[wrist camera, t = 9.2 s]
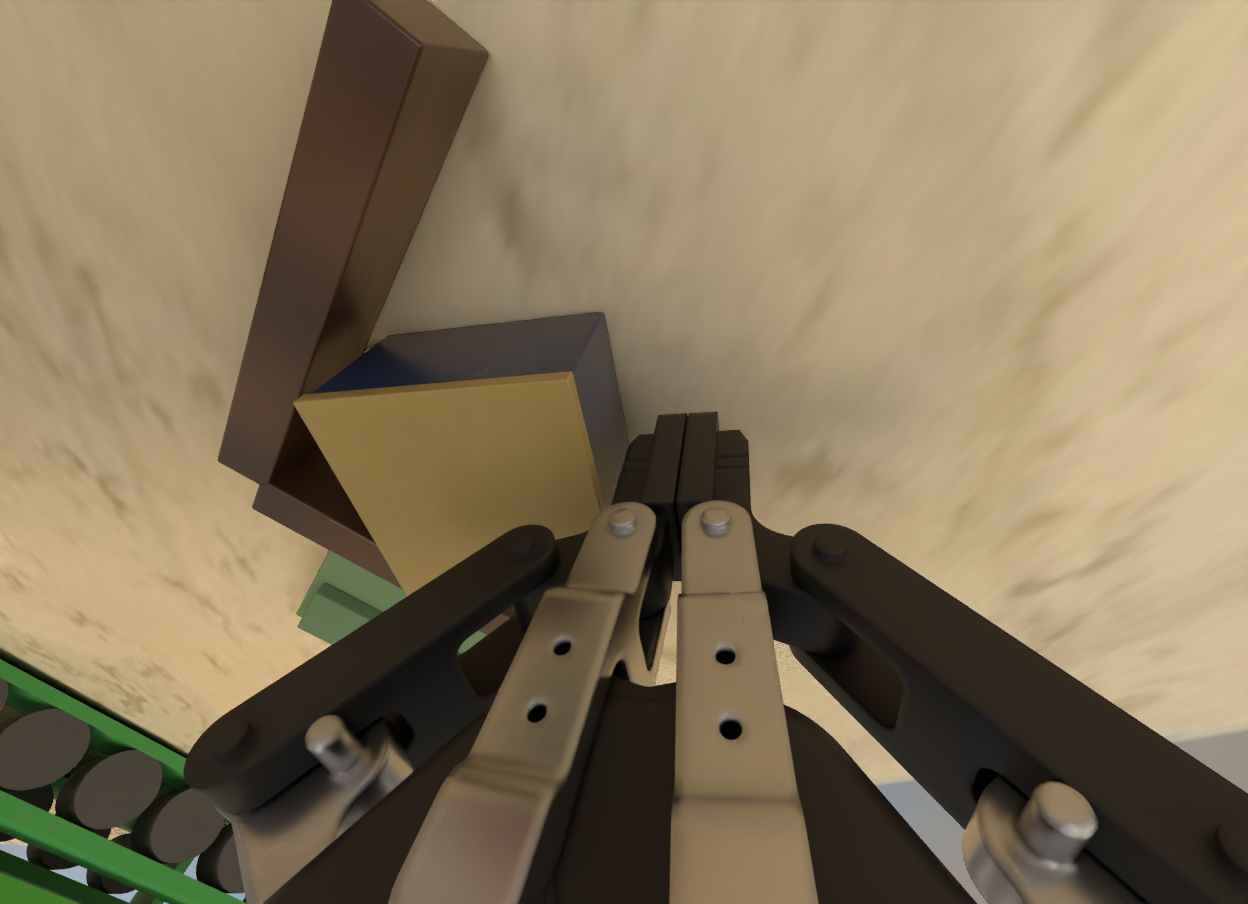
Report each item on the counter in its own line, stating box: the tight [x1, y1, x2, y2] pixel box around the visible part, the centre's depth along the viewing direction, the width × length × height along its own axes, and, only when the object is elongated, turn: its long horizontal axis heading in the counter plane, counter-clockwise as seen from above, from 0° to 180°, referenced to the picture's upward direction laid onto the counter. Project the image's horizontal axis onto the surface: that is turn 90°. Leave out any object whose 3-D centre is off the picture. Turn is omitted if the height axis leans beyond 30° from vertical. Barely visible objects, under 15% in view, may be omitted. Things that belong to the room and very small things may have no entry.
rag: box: [296, 550, 487, 655], centre depth 22 cm, size 9×7×1 cm
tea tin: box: [293, 312, 629, 596], centre depth 15 cm, size 7×7×4 cm
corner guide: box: [218, 0, 514, 635], centre depth 15 cm, size 10×19×3 cm, turn 9°
